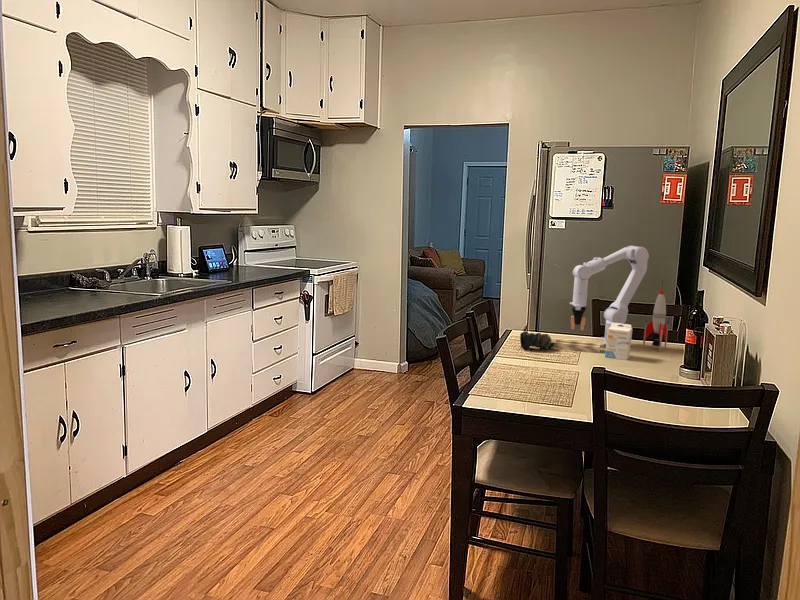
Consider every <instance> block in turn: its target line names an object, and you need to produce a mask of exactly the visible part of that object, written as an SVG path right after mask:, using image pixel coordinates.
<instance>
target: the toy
mask: <svg viewBox="0 0 800 600" xmlns="http://www.w3.org/2000/svg"><path fill="white" fill-rule="evenodd" d="M663 283H664V281H662V284H661V286H663ZM654 302H655V303H654V307H653V312H652V320H651V321H650V322H648V324H647V321H648V320H645V324H644V331H643V334H644V335H643V343H642V346H643V347H645V345H646V341H647V339H648V338H649V336H650V335H651V334H652V338H653V339H654V340H653V341H652V344H651V345H652V346H654V347H659V349H658V352H661V351H662V343H663V342H662V341H663V340H664V348H667V343H668V332H669V321H667V324H666V315H667V304H666V302H667V301H666V296H665V292H664V291H663V289H661V290H660V291H659V293H658V294H657V296H656V299H655V301H654Z"/></svg>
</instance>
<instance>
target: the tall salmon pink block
mask: <svg viewBox="0 0 800 600" xmlns="http://www.w3.org/2000/svg"><path fill="white" fill-rule="evenodd" d="M586 319H587V317H586V316H582V320H581V323H580V331H584V330H585V329H584V328H585V326H586ZM570 330H575V321H574V315H571V316H570Z"/></svg>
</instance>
